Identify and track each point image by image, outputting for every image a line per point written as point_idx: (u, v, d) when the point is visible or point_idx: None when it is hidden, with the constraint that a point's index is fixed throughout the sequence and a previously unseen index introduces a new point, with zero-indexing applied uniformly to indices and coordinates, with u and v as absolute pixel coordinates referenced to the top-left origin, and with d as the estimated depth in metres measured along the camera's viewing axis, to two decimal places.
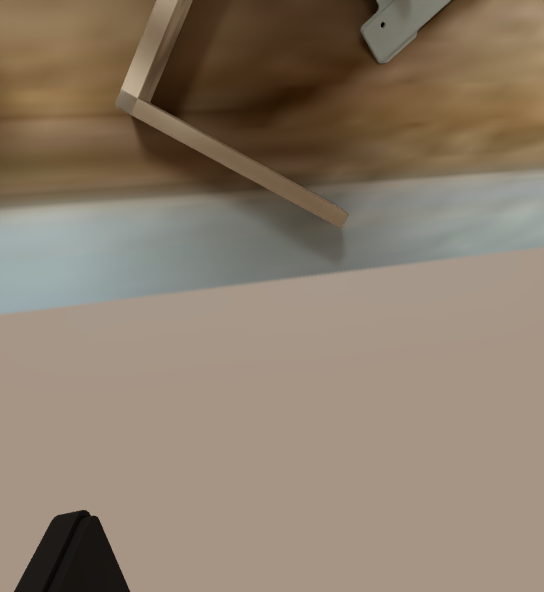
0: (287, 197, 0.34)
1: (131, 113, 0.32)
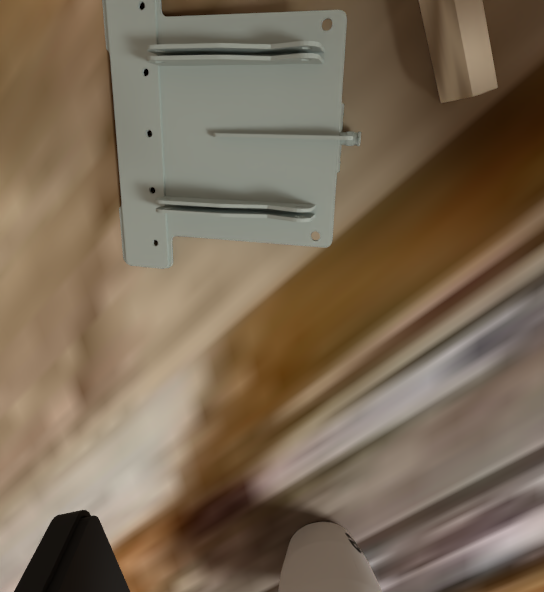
0: None
1: None
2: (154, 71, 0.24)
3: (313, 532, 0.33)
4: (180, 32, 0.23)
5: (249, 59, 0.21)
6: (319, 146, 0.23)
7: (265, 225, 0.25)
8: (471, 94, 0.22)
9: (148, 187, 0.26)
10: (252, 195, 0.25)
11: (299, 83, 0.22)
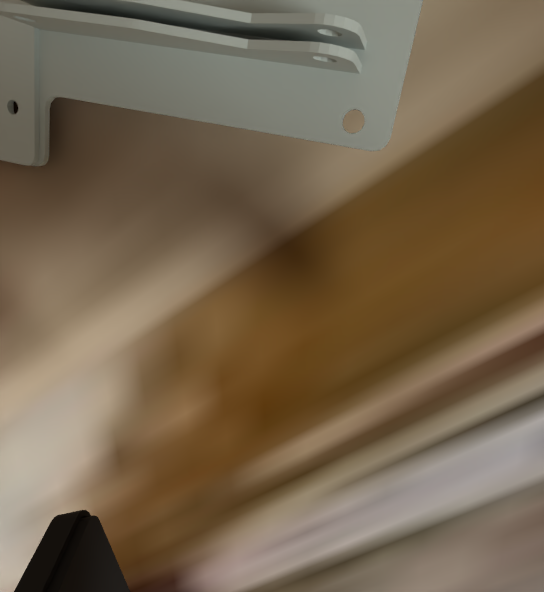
0: None
1: None
2: None
3: None
4: None
5: None
6: None
7: (243, 86, 0.11)
8: None
9: None
10: (224, 7, 0.11)
11: None
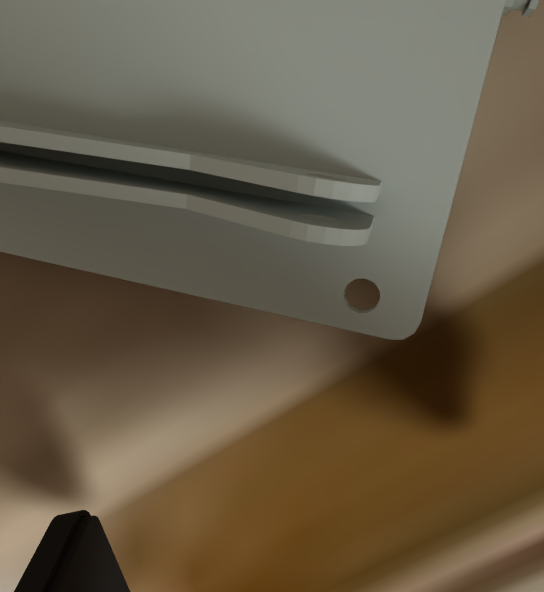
0: None
1: None
2: None
3: None
4: None
5: None
6: None
7: (191, 236, 0.07)
8: None
9: None
10: (154, 122, 0.07)
11: None
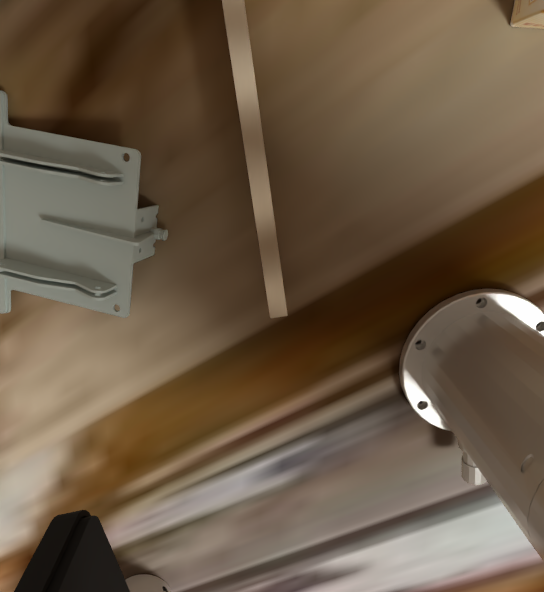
0: None
1: None
2: None
3: (136, 583, 0.42)
4: (20, 138, 0.29)
5: (62, 175, 0.28)
6: (120, 243, 0.30)
7: (80, 293, 0.31)
8: None
9: None
10: (71, 269, 0.31)
11: (106, 194, 0.29)
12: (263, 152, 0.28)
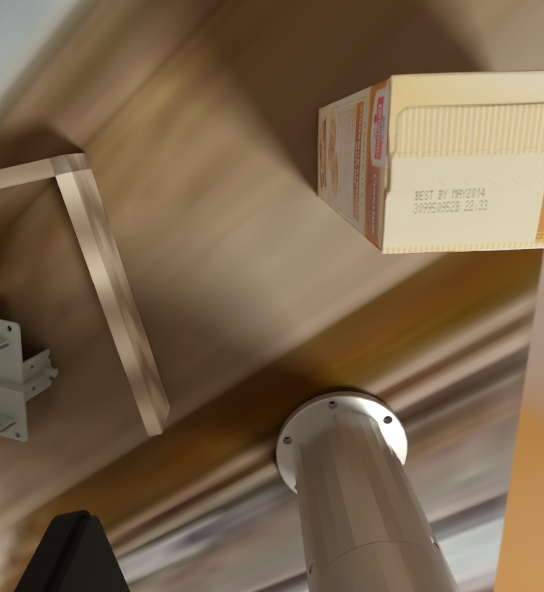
0: None
1: (49, 159, 0.32)
2: None
3: None
4: None
5: None
6: None
7: None
8: (148, 434, 0.39)
9: None
10: None
11: None
12: (121, 319, 0.36)
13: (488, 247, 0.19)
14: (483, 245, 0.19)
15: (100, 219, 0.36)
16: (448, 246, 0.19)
